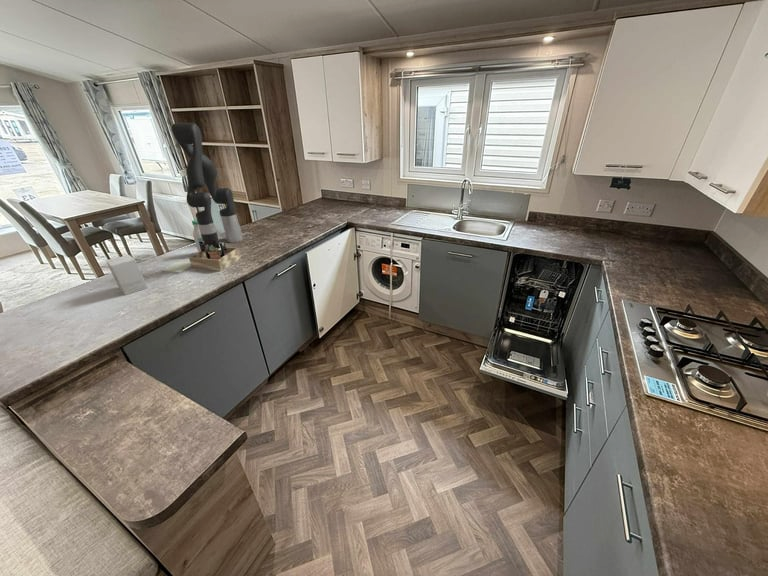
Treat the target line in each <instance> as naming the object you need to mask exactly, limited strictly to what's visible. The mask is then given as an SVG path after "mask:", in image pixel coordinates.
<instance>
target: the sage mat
mask: <svg viewBox="0 0 768 576" xmlns="http://www.w3.org/2000/svg"><path fill="white" fill-rule="evenodd" d="M190 268H192V266H191V263H190V262H186V261H176V262H174V263H173V264H171V265H168V266H167V267H164V268H162V269H161V272H168V273H177V274H180V273H182V272H184V271H186V270H188V269H190Z"/></svg>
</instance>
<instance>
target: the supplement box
mask: <svg viewBox="0 0 768 576" xmlns="http://www.w3.org/2000/svg"><path fill="white" fill-rule="evenodd" d="M105 263H106V265H107V267H108V268H109V271H110V272H111V274H112V276H113V278H114V280H115V282H116V285H117V286H118V289H119V290H120V291H121V292H122V293H123V294H124V295H125V296H127V295H129V294H130V295H131V294H133V293H136V292H140V291H142V290H145V289H147V288H148V285H147V283H146V281H145V279H144V277H143V274H142V272H141V269H140V267H139V266H138V263H137V261H136V259H135V258H134V257H132V256H131V255H130V254H127V255H122V256H119V257H114V258H111V259H107V260H105Z"/></svg>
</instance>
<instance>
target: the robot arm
mask: <svg viewBox="0 0 768 576" xmlns="http://www.w3.org/2000/svg"><path fill="white" fill-rule="evenodd" d="M171 133H172V134H173V137H174V138H175V140H176V141H177V143H178V145H179V146H180V148H181V149H182V150H183V151H184V153H185V154H186V155H187V156H188V157H187V158H188V159H189V160H188V162H187V164H186V170H185V171H186V176H187V179H186V180H187V191H186V192H187V193H186V203H187V204H188V206H189V207H191V208H204V210H200V211H197V212H196V213H195V217H196V220H197V221H198V225H199V230H200V233H201V236H202V241H200V242H199V245H200V248H201V251H202V252H204V253H206V257H207V258H208V259H211V258H210V254H208V251H209V246H211V247H212V248H214V249H215V250H216V251H217V252H218V253H219V254H220V257H221V258H222V257H223V256H225V255H224V253H226V252H227V249H226V247H227V246H226V244H225V242H224V241H222V242H220V241H219V235H218V231H217V228H216V224H215V223H214V220H213V219H214V218H213V216H212V200H213V202H214V203H215V204H218V205H226V207H224V208H222V209H220V210H219V211H218V212H219V217H220V220H221V223H222V227H223V231H224V235H225V239H226V241H227V243H239V242H241V241H242V240H243V238H244V237H243V233H242V229H241V225H240V223H239V220H238V217H237V211H236V205H235V201H234V200H235V199H234V194H233V192H232V190H231V189H230V188H229V187H227V188H225V187H224V188H222V187H220V188H219V187H217V186H216V184H215V183H216V179H217V176H218V171H217V168H216V167H215V165H214V163H213V161H212V160H211V159H210V158H209V157H208V156H206V155H205V154H204V153H203V137H202V133H201V130H200V127H199V126H198V125H197V124H196V123H195V122H178V123H177V122H176V123H175V122H174V123H173V124H171ZM205 186H206V189H207V191H208V193H207V192H197V191H198V190H200V189H202V188H205ZM205 245H206V247H205ZM218 248H219V249H218Z"/></svg>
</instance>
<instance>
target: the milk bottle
mask: <svg viewBox="0 0 768 576" xmlns="http://www.w3.org/2000/svg"><path fill="white" fill-rule="evenodd" d="M191 223H192V226H193V233H192V235H193V240H194V242H195V247H196V249H197V253H198V252H200V251H201V248H200V245H199V242H200V241H202V236H201V233H200V230H199V225H198V221H197V219H193V220H191ZM205 247H206V245H205Z"/></svg>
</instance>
